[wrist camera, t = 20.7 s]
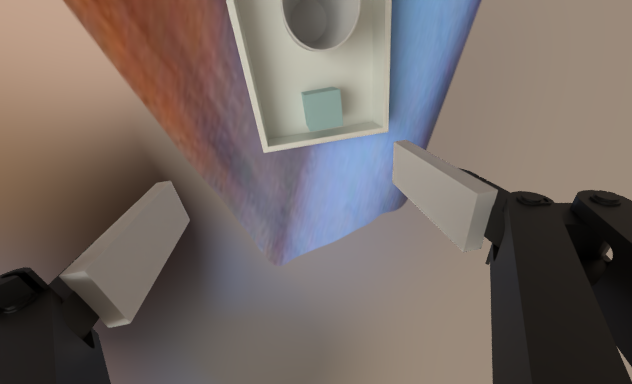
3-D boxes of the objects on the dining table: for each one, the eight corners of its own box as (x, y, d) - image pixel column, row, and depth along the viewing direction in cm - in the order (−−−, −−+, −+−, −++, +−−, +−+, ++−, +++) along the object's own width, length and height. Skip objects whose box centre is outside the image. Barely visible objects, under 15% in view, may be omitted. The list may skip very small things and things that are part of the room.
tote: (225, -24, 29) (215, -41, 24) (376, -42, 30) (393, -61, 26) (265, 143, 39) (263, 152, 35) (376, 124, 41) (388, 131, 36)
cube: (306, 124, 38) (310, 131, 34) (301, 92, 36) (304, 95, 31) (335, 119, 38) (343, 125, 34) (332, 86, 36) (340, 89, 32)
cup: (328, -27, 30) (349, -67, 21) (344, 44, 34) (368, 35, 25) (269, -4, 30) (266, -33, 21) (292, 64, 34) (297, 63, 25)
